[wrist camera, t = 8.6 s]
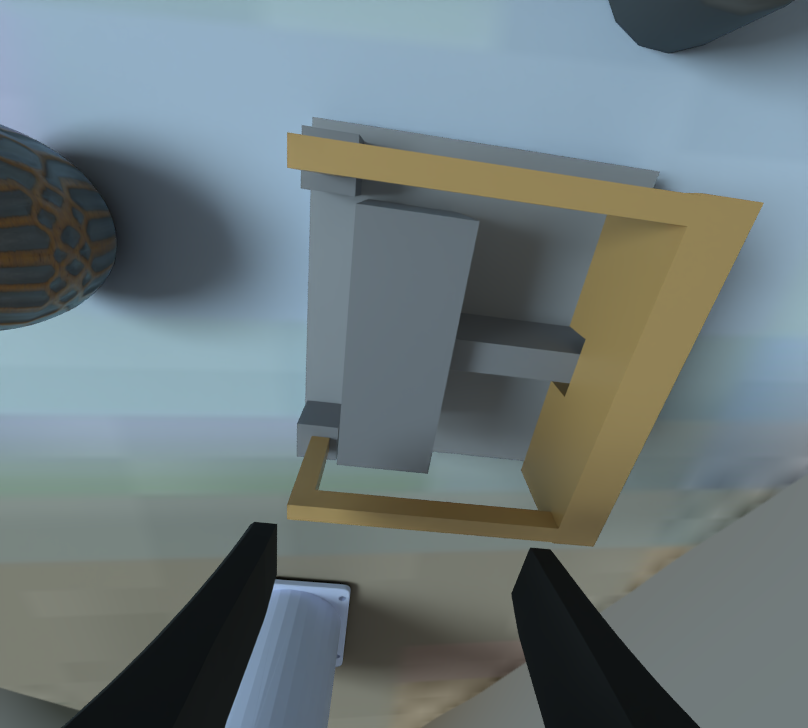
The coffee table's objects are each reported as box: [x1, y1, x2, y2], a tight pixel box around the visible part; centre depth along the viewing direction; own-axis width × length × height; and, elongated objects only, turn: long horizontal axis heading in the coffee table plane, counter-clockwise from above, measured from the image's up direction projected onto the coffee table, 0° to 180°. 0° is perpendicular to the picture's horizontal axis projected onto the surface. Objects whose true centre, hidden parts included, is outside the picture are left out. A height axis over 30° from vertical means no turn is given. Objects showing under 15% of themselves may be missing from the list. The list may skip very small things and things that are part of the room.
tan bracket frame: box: [287, 132, 763, 547], centre depth 13 cm, size 11×12×4 cm
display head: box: [297, 117, 659, 474], centre depth 15 cm, size 13×14×6 cm
